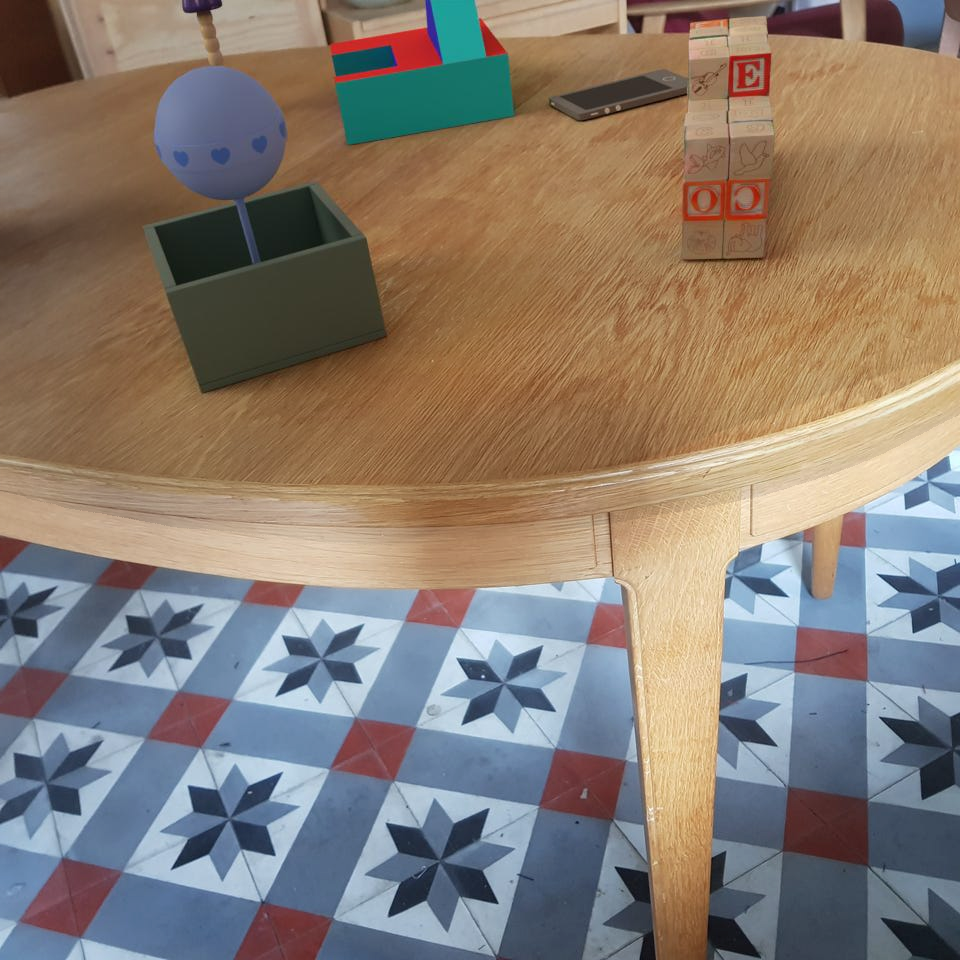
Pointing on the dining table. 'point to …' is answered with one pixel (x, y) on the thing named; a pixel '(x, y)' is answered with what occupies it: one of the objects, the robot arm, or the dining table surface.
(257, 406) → the dining table surface
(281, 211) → the toy bin
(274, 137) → the baby rattle
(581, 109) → the smartphone
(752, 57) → the stack of blocks
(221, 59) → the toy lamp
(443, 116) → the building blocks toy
